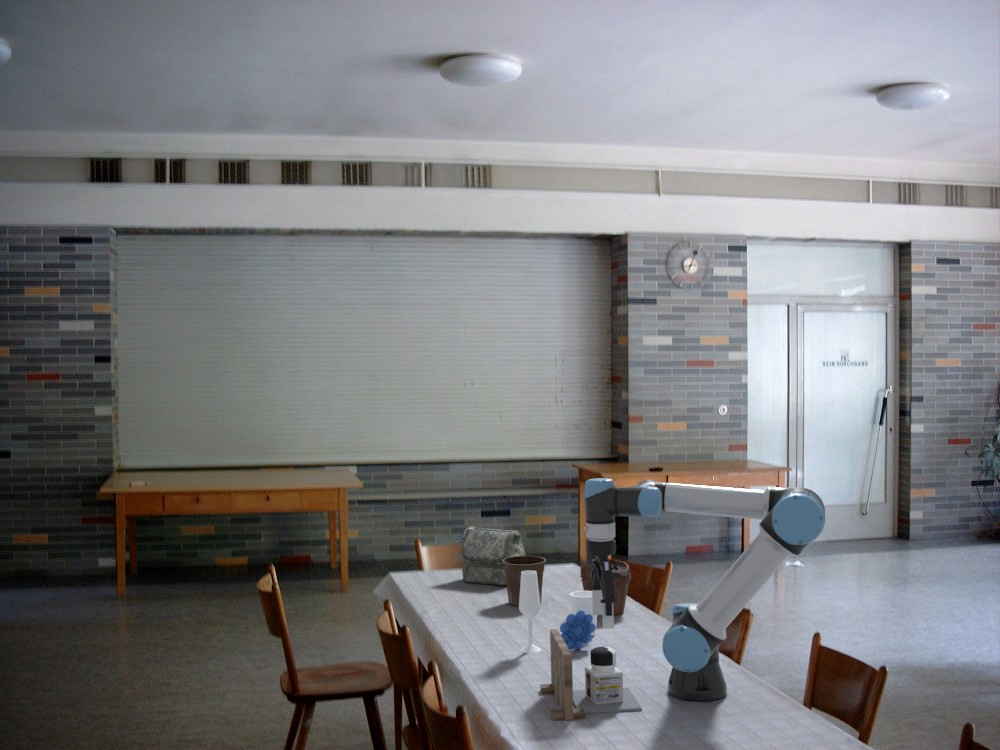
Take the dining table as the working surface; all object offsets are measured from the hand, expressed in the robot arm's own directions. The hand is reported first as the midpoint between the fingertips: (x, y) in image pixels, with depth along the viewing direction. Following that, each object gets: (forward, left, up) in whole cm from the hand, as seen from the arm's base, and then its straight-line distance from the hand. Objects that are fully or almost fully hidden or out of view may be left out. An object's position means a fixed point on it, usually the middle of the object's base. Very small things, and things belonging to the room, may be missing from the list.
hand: (603, 621), depth 251 cm
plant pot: (+89, -64, -21) cm, 112 cm away
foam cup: (+45, -46, -21) cm, 68 cm away
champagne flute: (+46, -21, -21) cm, 55 cm away
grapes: (+36, -31, -21) cm, 52 cm away
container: (0, 0, -20) cm, 20 cm away
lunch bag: (+126, -84, -21) cm, 153 cm away
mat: (0, 0, -21) cm, 21 cm away
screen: (+7, +9, -21) cm, 23 cm away
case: (+59, -74, -21) cm, 97 cm away
